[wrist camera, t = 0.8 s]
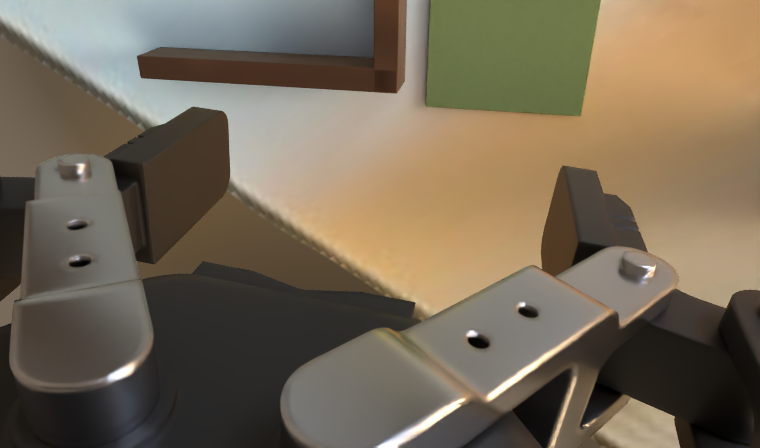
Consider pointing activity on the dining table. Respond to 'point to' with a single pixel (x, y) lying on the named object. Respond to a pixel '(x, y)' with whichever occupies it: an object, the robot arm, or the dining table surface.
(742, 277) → the dining table surface
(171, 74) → the corner guide
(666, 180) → the dining table surface
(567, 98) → the cloth
